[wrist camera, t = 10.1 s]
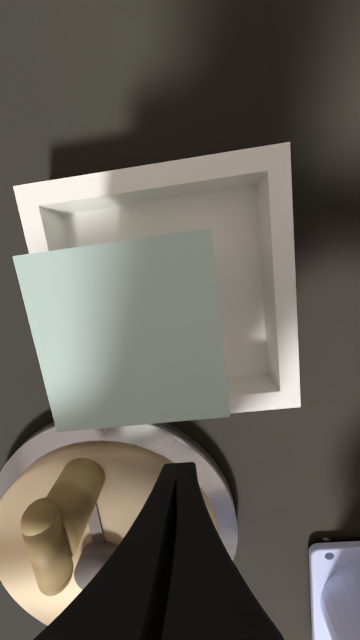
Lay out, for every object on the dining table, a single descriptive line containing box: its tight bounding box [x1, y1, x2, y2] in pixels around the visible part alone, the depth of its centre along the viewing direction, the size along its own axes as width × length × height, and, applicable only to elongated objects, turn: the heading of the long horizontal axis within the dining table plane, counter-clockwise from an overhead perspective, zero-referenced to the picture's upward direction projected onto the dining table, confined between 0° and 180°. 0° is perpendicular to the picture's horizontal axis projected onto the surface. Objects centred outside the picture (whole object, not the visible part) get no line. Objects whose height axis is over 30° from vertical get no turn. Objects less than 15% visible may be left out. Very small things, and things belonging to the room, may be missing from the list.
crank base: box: [0, 422, 238, 561], centre depth 15 cm, size 15×14×2 cm
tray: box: [13, 142, 301, 413], centre depth 12 cm, size 10×10×2 cm
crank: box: [0, 440, 220, 626], centre depth 12 cm, size 13×12×5 cm
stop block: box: [13, 228, 230, 432], centre depth 9 cm, size 4×4×7 cm
